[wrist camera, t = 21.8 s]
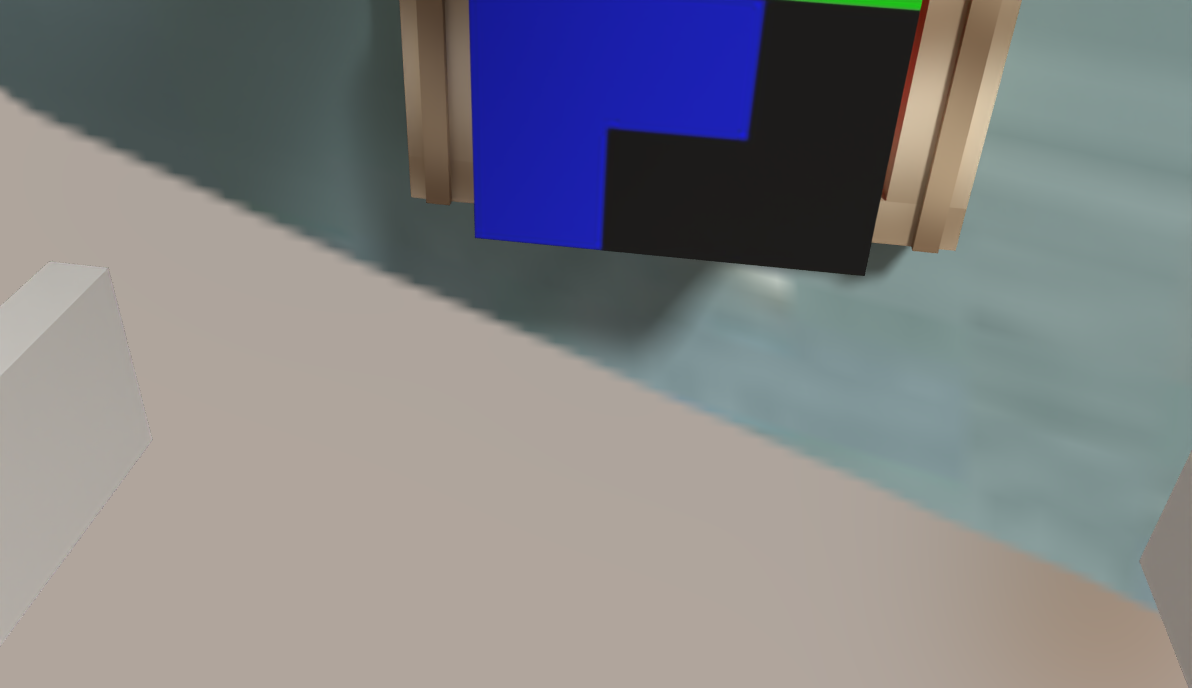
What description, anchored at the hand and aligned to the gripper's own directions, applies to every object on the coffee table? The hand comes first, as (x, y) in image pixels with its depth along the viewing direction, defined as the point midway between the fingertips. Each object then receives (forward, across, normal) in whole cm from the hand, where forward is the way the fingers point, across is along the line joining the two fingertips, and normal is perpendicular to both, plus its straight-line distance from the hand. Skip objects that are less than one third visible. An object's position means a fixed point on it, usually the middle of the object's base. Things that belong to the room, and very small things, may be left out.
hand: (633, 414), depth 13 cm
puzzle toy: (+24, 0, -1) cm, 24 cm away
